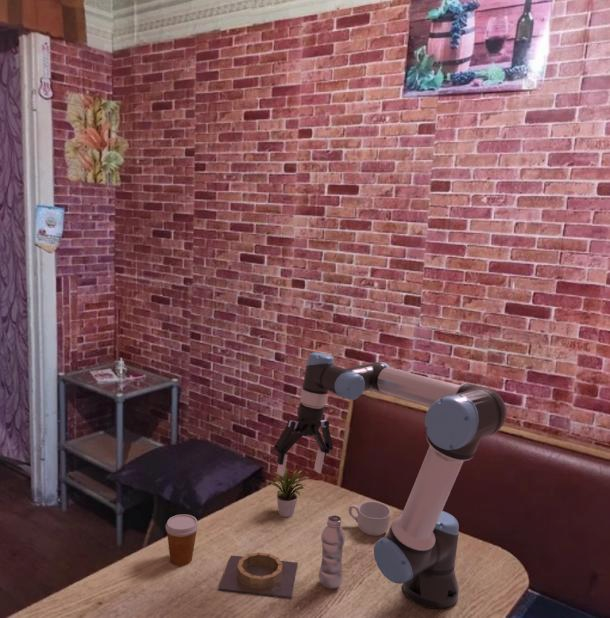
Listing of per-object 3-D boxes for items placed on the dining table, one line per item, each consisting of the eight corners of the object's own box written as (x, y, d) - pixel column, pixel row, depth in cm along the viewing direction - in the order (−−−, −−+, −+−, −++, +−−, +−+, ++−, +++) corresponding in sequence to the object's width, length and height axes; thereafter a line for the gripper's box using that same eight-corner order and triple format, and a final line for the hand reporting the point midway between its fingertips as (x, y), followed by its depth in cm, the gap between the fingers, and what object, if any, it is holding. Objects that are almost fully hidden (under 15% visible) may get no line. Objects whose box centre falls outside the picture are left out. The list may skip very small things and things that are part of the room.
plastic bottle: (340, 593, 163) (345, 526, 160) (316, 589, 164) (320, 522, 161) (343, 580, 169) (348, 514, 166) (320, 576, 170) (324, 511, 167)
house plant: (294, 530, 194) (297, 483, 192) (258, 518, 200) (260, 473, 197) (313, 511, 207) (315, 467, 204) (277, 501, 213) (280, 458, 210)
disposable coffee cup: (185, 547, 181) (186, 510, 179) (204, 561, 174) (205, 523, 172) (158, 558, 174) (158, 520, 172) (176, 573, 168) (177, 534, 166)
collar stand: (297, 564, 175) (298, 553, 175) (291, 598, 160) (292, 586, 159) (231, 557, 177) (231, 546, 176) (218, 590, 161) (218, 578, 161)
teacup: (394, 530, 198) (396, 507, 197) (380, 544, 189) (382, 520, 188) (357, 516, 205) (358, 495, 204) (341, 529, 196) (343, 507, 195)
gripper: (337, 401, 186) (324, 465, 188) (270, 400, 172) (257, 470, 174) (352, 408, 180) (339, 475, 182) (283, 408, 166) (270, 481, 168)
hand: (299, 473), depth 178 cm, fingers open, 13 cm apart
